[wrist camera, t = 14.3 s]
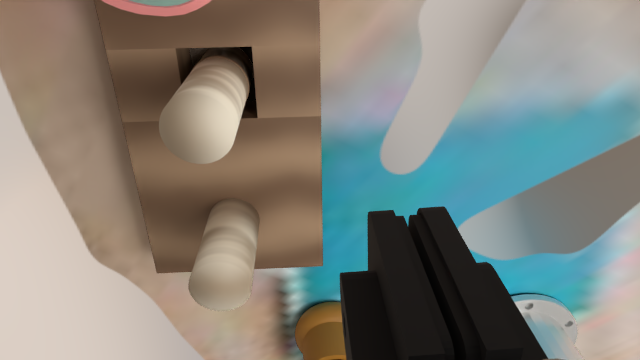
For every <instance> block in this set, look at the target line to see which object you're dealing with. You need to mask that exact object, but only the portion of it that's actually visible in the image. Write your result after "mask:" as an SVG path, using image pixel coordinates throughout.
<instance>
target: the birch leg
mask: <svg viewBox="0 0 640 360" xmlns="http://www.w3.org/2000/svg"><path fill="white" fill-rule="evenodd" d="M252 78H253V66H252V63H251V61H250V59H249V57H248V56H247V54H246V53H245V52H244V51H242V50H241V49H240V48H238V47H211V48H210V49H209V50H207V51H206V53H205V54H204V55H203V57H202V58H201V59H200V61H199V62H198V63H197V64H196V65H195V66H194V67H193V69H192V70H191V72H190V74H189V75H188V77H187V78H186V79H185V81H184V82H183V83H182V85H181V86H180V87H179V89H178V90H177V91H176V93H175V94H174V95H173V97H172V98H171V100H170V101H169V102H168V104H167V105H166V106H165V108H164V109H163V111H162V113H161V115H160V119H159V132H160V136H161V138H162V140H163V142H164V144H165V145H166V147H167V148H168V149H169V150H170V151H171V152H172V153H173V154H174V155H175V156H177V157H178V158H180V159H182V160H184V161H187V162H190V163H195V164H208V163H212V162H215V161H217V160H219V159H221V158H222V157H224V156H225V155H226V154H227V153H228V152H229V151H230V149H231V148H232V146H233V143H234V140H235V137H236V133H237V130H238V126H239V123H240V120H241V116H242V113H243V109H244V106H245V102H246V100H247V98H248V94H249V89H250V85H251V81H252Z"/></svg>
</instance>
